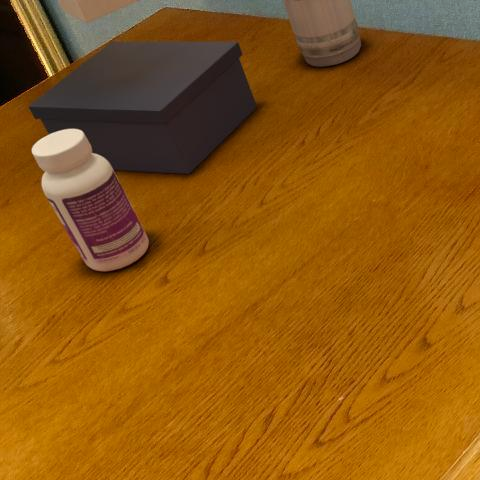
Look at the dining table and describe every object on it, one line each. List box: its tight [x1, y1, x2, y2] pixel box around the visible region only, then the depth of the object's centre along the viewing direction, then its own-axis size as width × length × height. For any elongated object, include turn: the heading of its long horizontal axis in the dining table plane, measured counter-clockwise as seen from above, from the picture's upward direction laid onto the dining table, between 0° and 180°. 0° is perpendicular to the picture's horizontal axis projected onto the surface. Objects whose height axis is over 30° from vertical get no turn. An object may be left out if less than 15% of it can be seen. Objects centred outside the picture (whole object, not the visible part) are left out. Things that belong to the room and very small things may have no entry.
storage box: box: [27, 40, 258, 175], centre depth 92 cm, size 15×13×6 cm
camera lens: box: [282, 0, 362, 68], centre depth 97 cm, size 6×6×8 cm
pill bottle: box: [31, 129, 150, 272], centre depth 77 cm, size 5×5×10 cm
